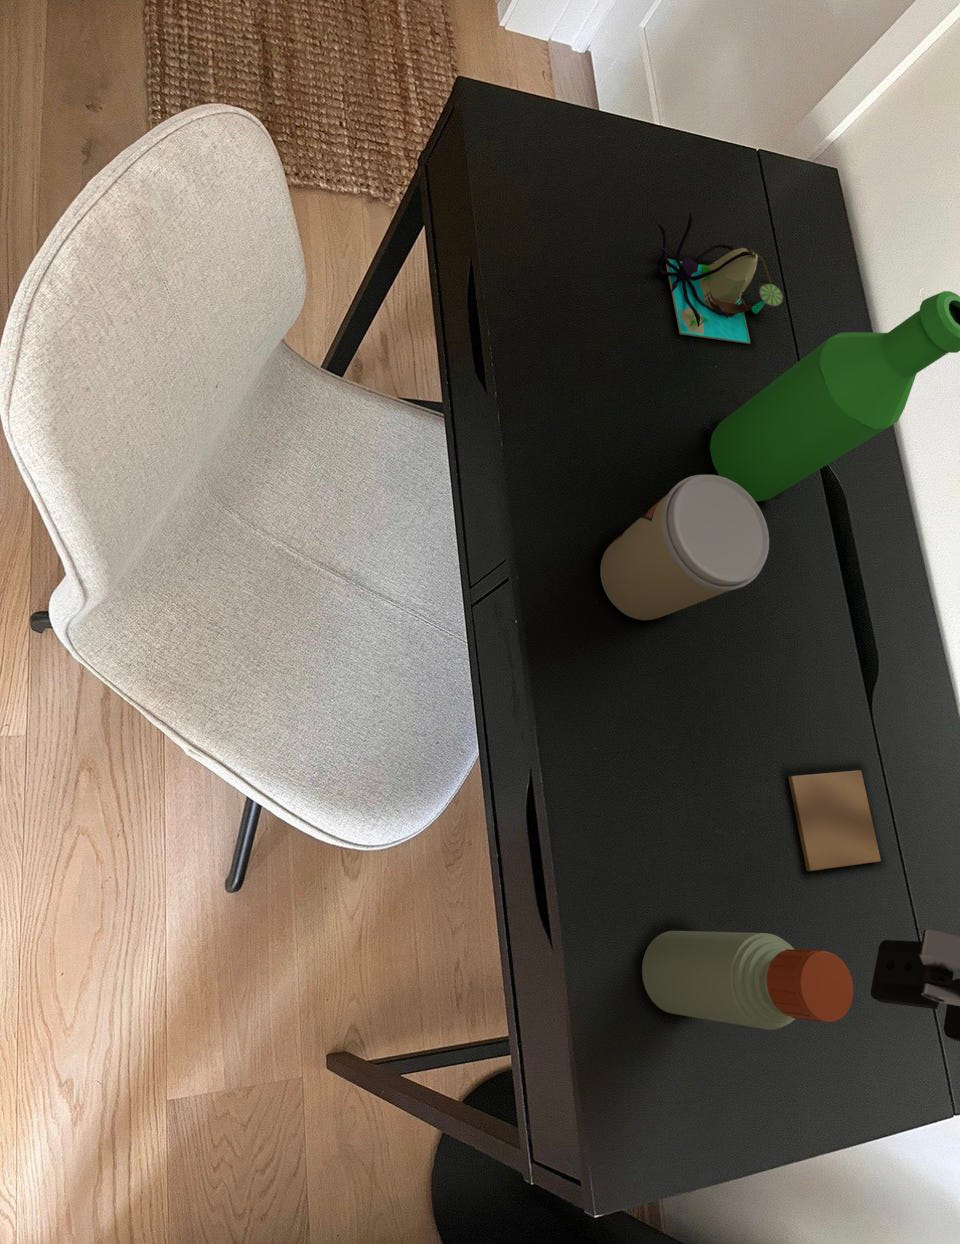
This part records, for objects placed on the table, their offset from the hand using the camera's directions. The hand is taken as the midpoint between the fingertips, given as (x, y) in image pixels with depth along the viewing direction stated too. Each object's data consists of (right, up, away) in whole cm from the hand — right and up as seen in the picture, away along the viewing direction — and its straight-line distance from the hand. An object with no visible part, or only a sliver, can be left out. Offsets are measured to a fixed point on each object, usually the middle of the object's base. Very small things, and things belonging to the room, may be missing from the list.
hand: (918, 990), depth 50 cm
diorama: (-2, +54, +43) cm, 69 cm away
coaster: (+7, +3, +30) cm, 31 cm away
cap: (-4, -3, +9) cm, 10 cm away
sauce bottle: (-9, -7, +21) cm, 23 cm away
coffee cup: (-10, +24, +30) cm, 40 cm away
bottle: (+1, +35, +39) cm, 52 cm away
